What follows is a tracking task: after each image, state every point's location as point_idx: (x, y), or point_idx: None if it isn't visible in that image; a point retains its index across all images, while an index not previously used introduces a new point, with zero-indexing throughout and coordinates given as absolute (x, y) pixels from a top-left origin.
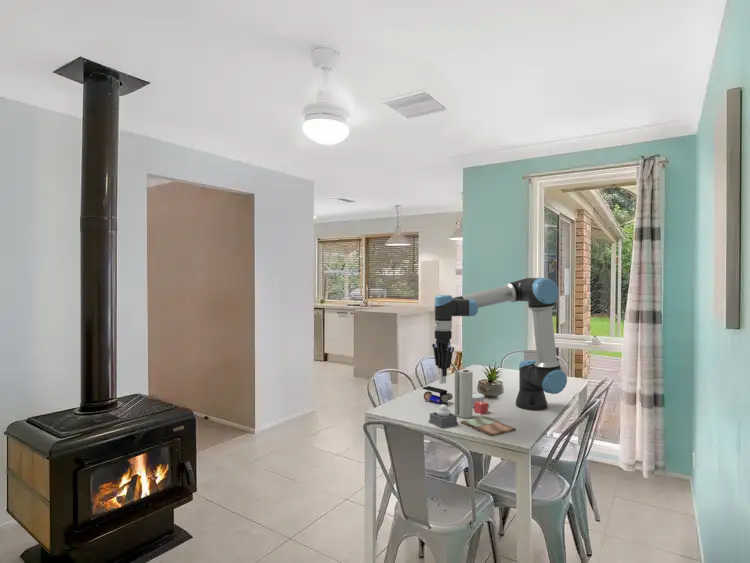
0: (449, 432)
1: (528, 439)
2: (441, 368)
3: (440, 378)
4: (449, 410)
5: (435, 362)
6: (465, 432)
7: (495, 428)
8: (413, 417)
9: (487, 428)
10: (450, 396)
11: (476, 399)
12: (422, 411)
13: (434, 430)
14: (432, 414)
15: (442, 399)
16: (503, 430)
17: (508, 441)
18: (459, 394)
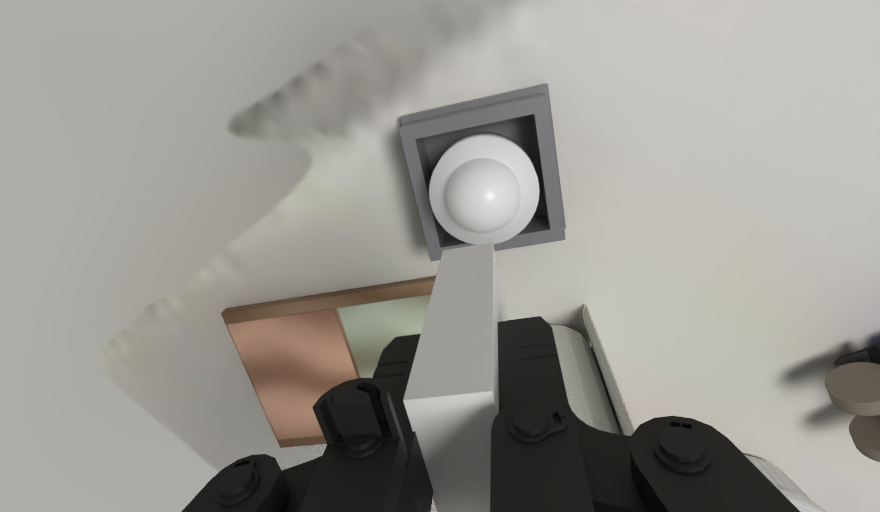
0: (319, 130)
1: (174, 420)
2: (337, 395)
3: (457, 281)
4: (454, 232)
5: (770, 503)
6: (301, 219)
7: (294, 374)
8: (703, 10)
9: (301, 341)
10: (867, 439)
11: None
12: (800, 149)
13: (375, 48)
14: (512, 103)
15: (870, 370)
16: (260, 389)
17: (156, 339)
18: (592, 423)
